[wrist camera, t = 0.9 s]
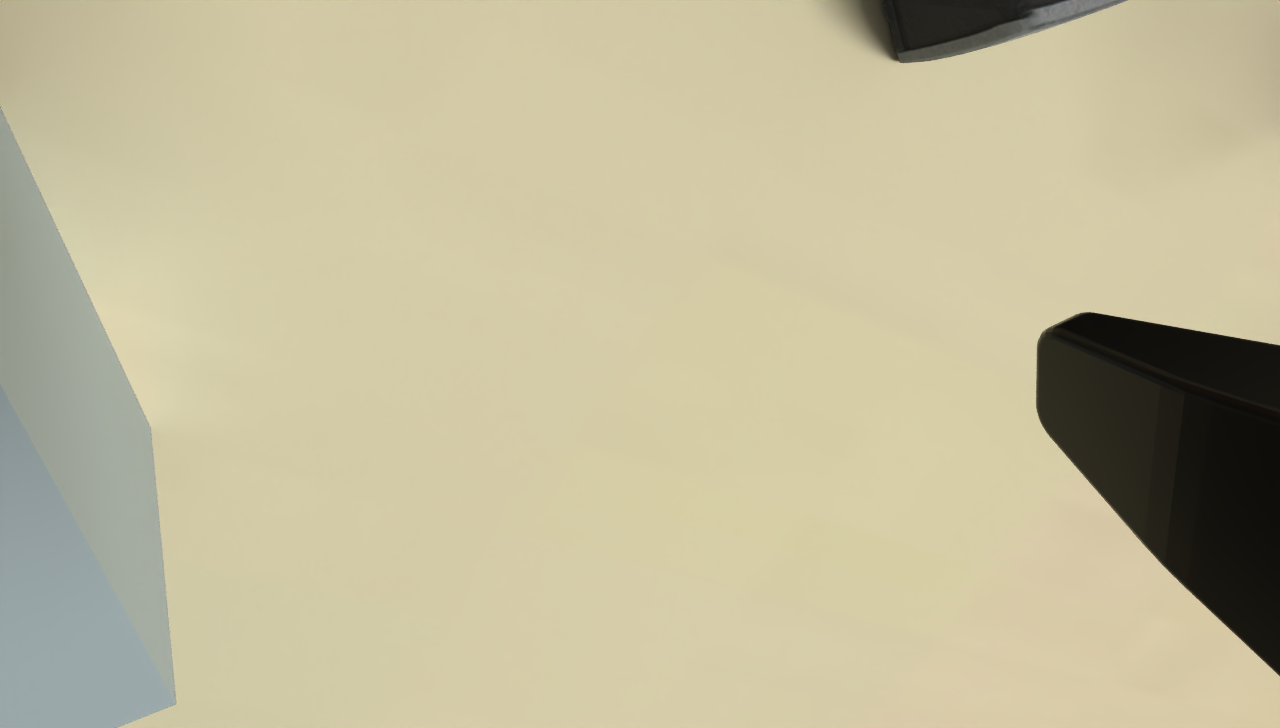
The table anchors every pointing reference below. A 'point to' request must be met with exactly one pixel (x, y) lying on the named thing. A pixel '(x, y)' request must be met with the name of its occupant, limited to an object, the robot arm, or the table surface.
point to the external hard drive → (974, 23)
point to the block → (71, 493)
